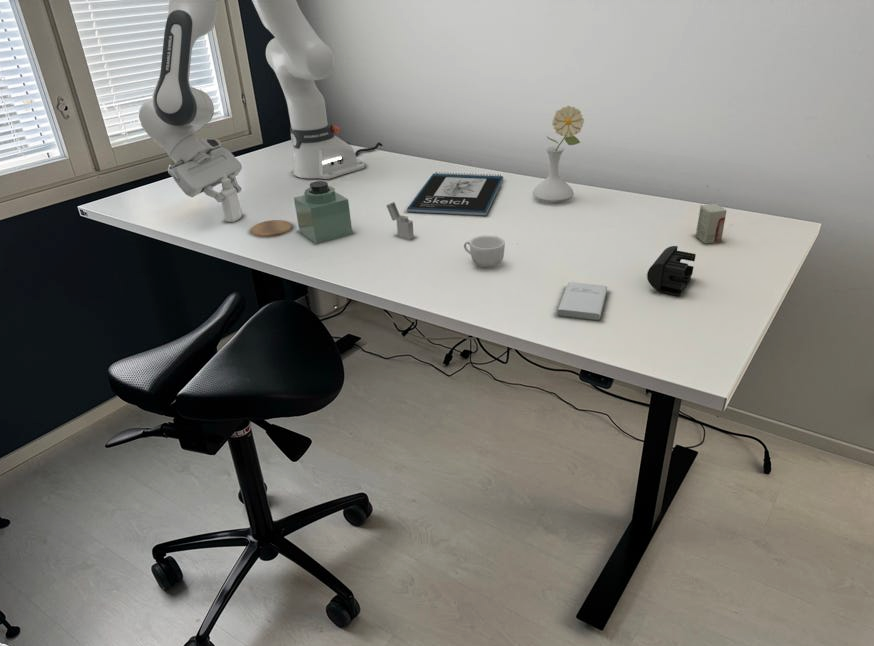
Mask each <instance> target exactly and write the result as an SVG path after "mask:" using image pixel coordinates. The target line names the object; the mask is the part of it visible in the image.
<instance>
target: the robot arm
mask: <svg viewBox="0 0 874 646" xmlns="http://www.w3.org/2000/svg"><path fill="white" fill-rule="evenodd" d="M251 2H252V4H253V6H254V8H255V10H256V12H257V14H258V17H259V20H260V21H261V23H262V25H263V26H264V27H265V29H266V30H268V32H270V34H271V35H272V36H273V38H272V39H270V41H269V42H268V43H267V45H266V48H265V57H266V61H267V63H268V65H269V66H270V68H271V69H272V70H273V72H274V73H275V76H276V78H277V80H278V82H279V84H280V85H279V86H280V87H281V89H282V92H283V94H284V98H285V102H286V105H287V106H286V107H287V111H288V116H289V121H290V128H289V130H290V140H291V143H292V147H293V159H294V160H293V161H294V163H293V172H292V175H294V176H295V177H297V178H300V179H320V180H321V179H322V180H330V179H335V178H337V177H340V176H343V175H346V174H349V173H352V172H356V171H359V170H363V169H364V168H366V167H365V163H364V162H363V160H361V159H360V158H358V155H359V153H362V152H371V151H375V150H376V149H378V148H379V147H383V143H381V142H379V141H378V142H377V143H376V144H375V146H373V147H366V148H360V149H357V150H356V151H355V150H354V148H353V147H352V145H351V144H350V142H349V141H348V142H346V141H344V140H343V139H341V138H339V137H338V136H337V135H335V134H339V133H340V132H341V128H340V127H339V126H337V125H332V124H330V123H328V116H327V110H326V109H327V108H326V101H325V98H324V96H323V94H322V93H321V92H320V90H319V89H318V87H317V84H316V82H315V81H320V80H321V81H322V80H324V79H327V78H329V76H331V74H333V71H334V68H335V56H334V52H333V51H332V49H331V47H329V46H328V45H327V44H326V43H325V42H324V41H323V40H322V39H321V38H320V37H319V36H318V34H317V33H316V31H315V30H314V28H313V27H312V25H311V24H310V22H309V21H308V20H307V17H305V15H304V14H303V12H302V10H301V8H300V6H299V4H298V0H251ZM167 12H168V13H167V18H166V23H165V26H164V33H163V34H164V35H163V44H162V53H161V64H160V66H161V67H160V72H159V78H158V80H157V83H156V85H155V87H154V89H153V92H152V97H150V98H149V99H147V100H146V101H145V102H143V104H142V105H141V106H140V108H139V111H138V115H137V119H138V120H137V121H138V122H139V124H140V126H141V127H142V129H143V131H144V132H145V133H146V134H147V135H148V136H149V138H150V139H151V140H152V141H153V142H154V143H155V144H156V145H157V146H158V147H159V148H161V149H163V150H164V151H165V152H166V154H167V155H168V157H169V158H170V159H171V161H173V162H174V163H171V164H169V165H168V168H167V172H168V173H167V174H169V175H170V176H171V177H172V178H173V181H174V182H175V183H176V185H177V186H178V187H179V188H180V189H181V191H182V192H183V193H184V194H185V195H186V196H188V197H190V198H194V197H196V196H198V195H200V194H202V193H204V194H205V195H206V196H208V197H211V198H213V199H214V200H215V201H217V203H222V201H223V200H224V199H225V196H224V195H223V194H222V193H221V191H220V192H218V191H216V190H214V188H215V187H216V186H218V185H222V184H221V180H222V179H223V174H226V176H227V178H229V179H230V180H231V185H232V187H234V188H236V190H237V194H238V193H241V191H242V186H240V184H239V183H238V180H237V177H236V176H238V175H239V174H240V173H241V171H242V169H243V166H242V163H241V162H240V161H239V160H238V158H237V157H236V156H235V155H234V154H233V153H232V152H230V151H229V150H228V149H227V148H226V147H223V146H222V142H221V141H220V140H219V139H217V138H202V137H198V136H197V135H196V134H195V133H196V132H198V131H200V130H201V129H202V128H204V127H205V126H206V125H208V124H209V123H210V122H211V120H212V119H213V117H214V113H215V107H214V102H213V100H212V99H211V97H210V96H209V95H208V93H206V92H205V91H204V90H201V89H199V88H196V87H193V86H191V83H190V73H191V61H192V51H193V47H194V45H195V44H196V42H197V40H199V38H201V37H203V36H207V34H210V32H211V31H212V30H214V28H215V25H216V20H217V17H218V0H168V11H167Z"/></svg>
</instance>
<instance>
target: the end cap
mask: <svg viewBox="0 0 874 646" xmlns="http://www.w3.org/2000/svg"><path fill="white" fill-rule="evenodd" d="M678 249H679V248H678V245H671V246H668V247H667V248H665V249H663V251H662V252H661V253H660V255H659V256H657V258H656V260H655V261H654V262H653V263H652V264H651V266H649V268H648V270H647V274H646V277H647V278H646V279H647V282H648V283H649V285H650V286H651V287H652V288H653V289H655V291H657V292H658V293H661V294H665V295H669V296H673V297H681V295H682V294H683V292H684V291H685V290H686V288H687V286H688V285H689V284H690V282H691V280H692V275H693V273H694V267H695V266H693V265H689V263H687V262H682V260H684V261H688V262H695V261H696V255H697V254H696V253H693V252H687V251H682V250H678Z"/></svg>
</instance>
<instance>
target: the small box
mask: <svg viewBox="0 0 874 646" xmlns="http://www.w3.org/2000/svg"><path fill="white" fill-rule="evenodd" d="M727 211H728V210H726V209H725V208H724V207H722V206H721V205H719V203H711V204H709V203H708V204H701V205H700V207H699V212H698V213H699V214H698V219H697V225H696V226H697V227H696V232H695V237H696V238H697V239H699V240H700V241H701V242H702V243H704V244H713V243H721V242H722V239H723V233H724V228H725V222H726V216H727Z"/></svg>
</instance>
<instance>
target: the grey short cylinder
mask: <svg viewBox="0 0 874 646" xmlns="http://www.w3.org/2000/svg"><path fill="white" fill-rule="evenodd" d="M328 186H329V182H328V181H324V180H316V181H312V182H310V183H309V188H310V191H311V193H312V194H322V193H327V192H328V191H329V189H328Z"/></svg>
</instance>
